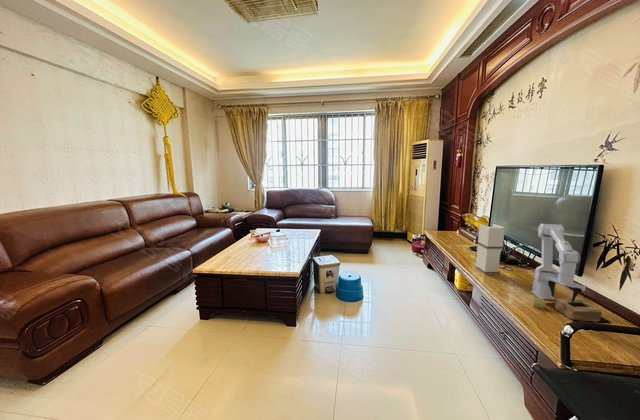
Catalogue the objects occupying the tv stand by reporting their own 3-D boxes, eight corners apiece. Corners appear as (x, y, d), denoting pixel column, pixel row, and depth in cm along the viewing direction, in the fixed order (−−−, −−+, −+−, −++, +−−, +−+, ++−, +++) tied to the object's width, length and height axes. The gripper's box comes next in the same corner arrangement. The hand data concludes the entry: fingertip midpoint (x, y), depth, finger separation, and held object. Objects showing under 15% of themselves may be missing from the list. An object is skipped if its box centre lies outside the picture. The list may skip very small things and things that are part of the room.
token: (529, 304, 143) (530, 298, 142) (541, 305, 142) (542, 298, 142) (533, 307, 140) (533, 300, 140) (545, 308, 139) (546, 301, 139)
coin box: (554, 307, 139) (556, 297, 138) (579, 309, 137) (580, 299, 136) (572, 320, 127) (574, 310, 126) (599, 322, 126) (601, 311, 125)
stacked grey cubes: (499, 274, 182) (504, 227, 176) (484, 274, 182) (489, 227, 176) (489, 268, 193) (494, 223, 187) (475, 268, 193) (479, 224, 187)
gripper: (545, 271, 132) (542, 295, 134) (585, 281, 120) (580, 306, 123) (549, 267, 136) (545, 291, 138) (587, 276, 125) (583, 302, 127)
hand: (562, 298), depth 131 cm, fingers open, 7 cm apart
